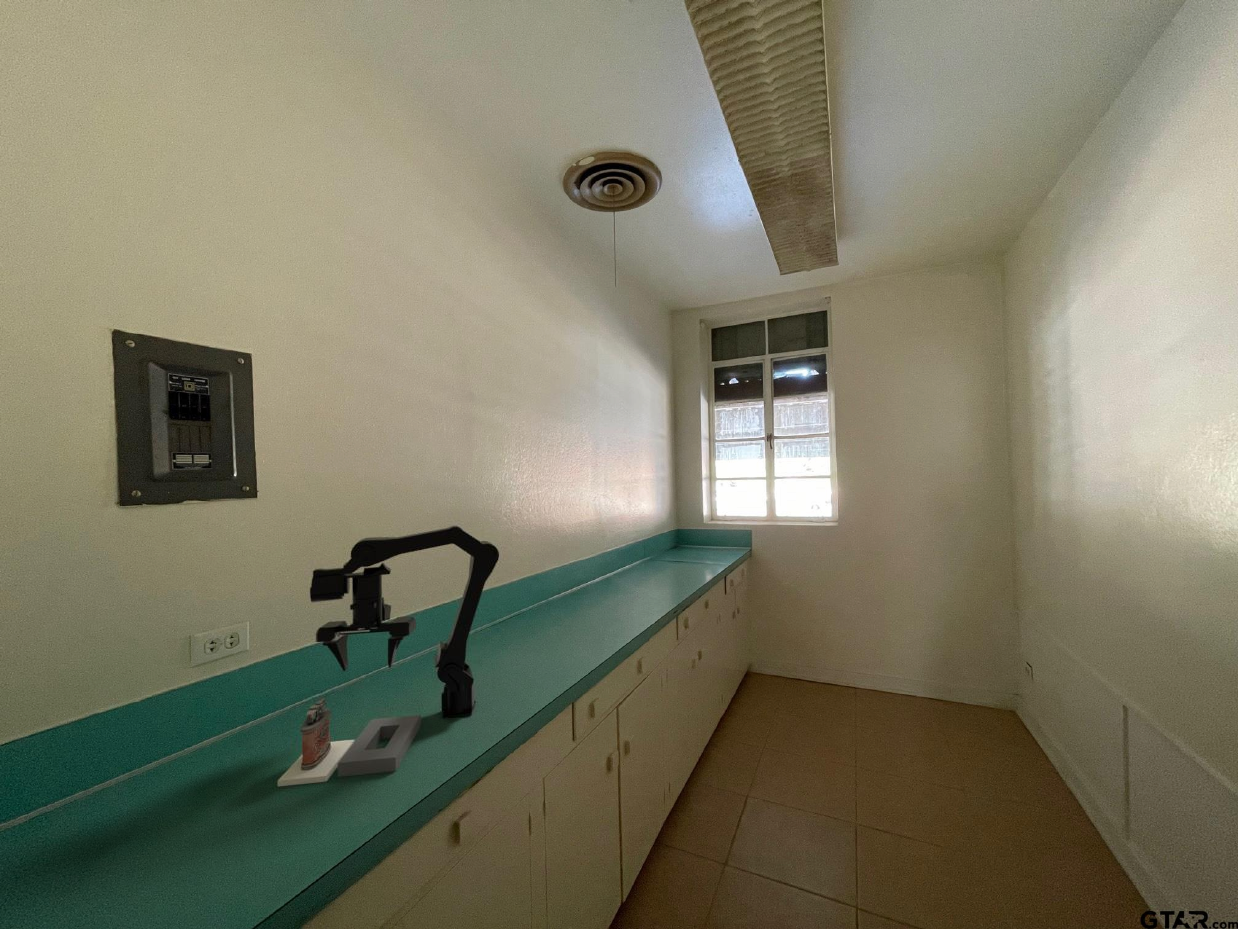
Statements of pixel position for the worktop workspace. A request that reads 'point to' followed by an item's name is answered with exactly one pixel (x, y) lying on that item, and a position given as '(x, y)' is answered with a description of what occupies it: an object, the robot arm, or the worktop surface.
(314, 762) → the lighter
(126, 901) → the worktop surface
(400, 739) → the grey rectangular frame
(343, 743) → the rubber mat
